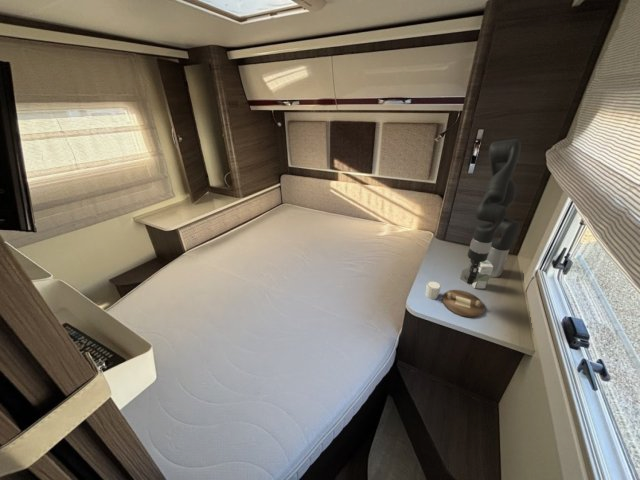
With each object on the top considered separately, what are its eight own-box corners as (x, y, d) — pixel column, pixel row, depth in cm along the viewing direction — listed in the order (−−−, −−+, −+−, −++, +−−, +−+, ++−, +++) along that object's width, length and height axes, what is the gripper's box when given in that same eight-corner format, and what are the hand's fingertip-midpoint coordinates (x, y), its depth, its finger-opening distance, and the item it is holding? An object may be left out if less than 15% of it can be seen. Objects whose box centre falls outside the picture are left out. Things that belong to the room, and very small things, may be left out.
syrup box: (480, 282, 143) (487, 259, 136) (485, 289, 137) (493, 266, 130) (469, 282, 143) (476, 259, 136) (474, 289, 138) (481, 266, 131)
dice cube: (469, 284, 119) (472, 275, 117) (460, 278, 123) (462, 270, 121) (476, 281, 121) (479, 272, 118) (467, 275, 125) (469, 267, 122)
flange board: (444, 288, 139) (445, 282, 137) (483, 298, 131) (485, 292, 129) (440, 310, 125) (441, 303, 123) (483, 322, 117) (485, 316, 116)
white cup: (437, 301, 130) (440, 290, 127) (422, 297, 133) (425, 286, 130) (439, 293, 135) (442, 283, 132) (426, 289, 138) (428, 278, 135)
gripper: (470, 239, 120) (461, 269, 128) (469, 254, 109) (459, 286, 117) (489, 242, 117) (479, 273, 125) (490, 258, 106) (478, 291, 114)
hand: (469, 279), depth 121 cm, fingers closed on dice cube, 6 cm apart
